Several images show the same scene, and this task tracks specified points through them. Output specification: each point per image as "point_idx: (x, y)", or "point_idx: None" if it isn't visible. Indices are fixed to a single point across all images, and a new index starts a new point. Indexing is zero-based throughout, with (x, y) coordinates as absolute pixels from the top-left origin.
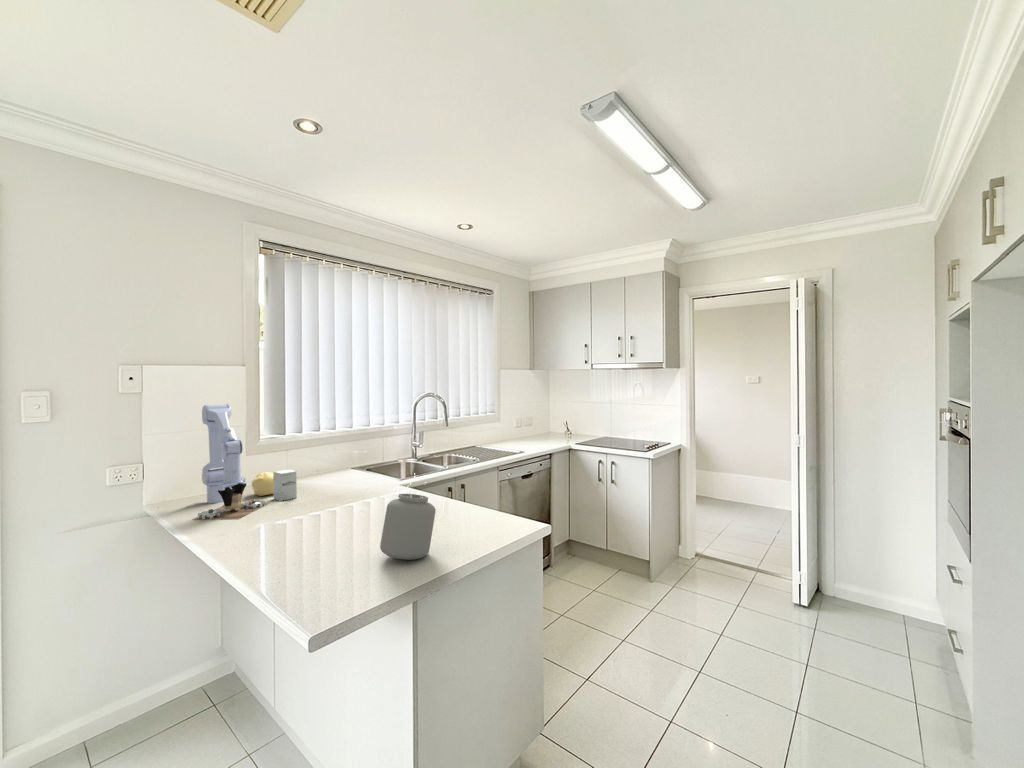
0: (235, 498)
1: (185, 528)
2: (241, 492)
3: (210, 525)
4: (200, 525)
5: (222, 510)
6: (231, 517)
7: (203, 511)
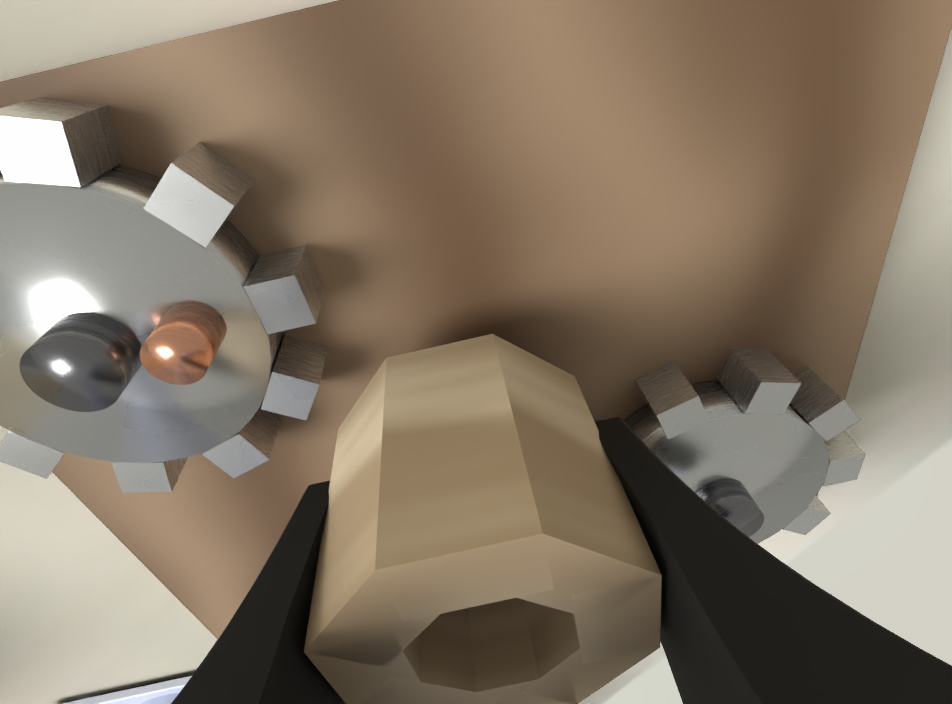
0: (570, 496)
1: (927, 427)
2: (266, 654)
3: (896, 274)
4: (860, 378)
5: None
6: (806, 142)
7: None
